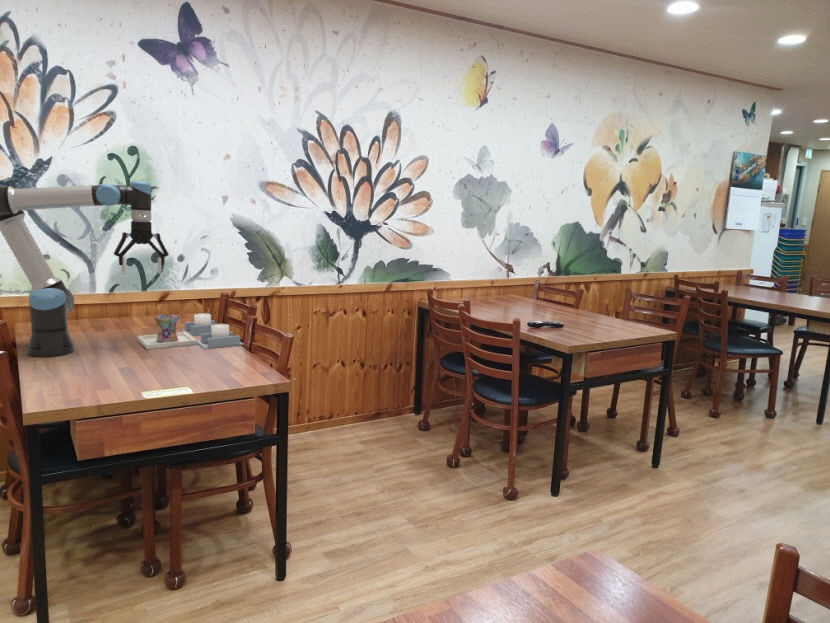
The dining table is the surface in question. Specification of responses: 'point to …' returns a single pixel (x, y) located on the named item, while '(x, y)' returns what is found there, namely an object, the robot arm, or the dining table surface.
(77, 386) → the dining table surface
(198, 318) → the white glossy dome
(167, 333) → the mug
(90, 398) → the dining table surface
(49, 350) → the robot arm
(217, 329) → the white rounded egg
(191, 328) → the rack
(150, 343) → the tray
